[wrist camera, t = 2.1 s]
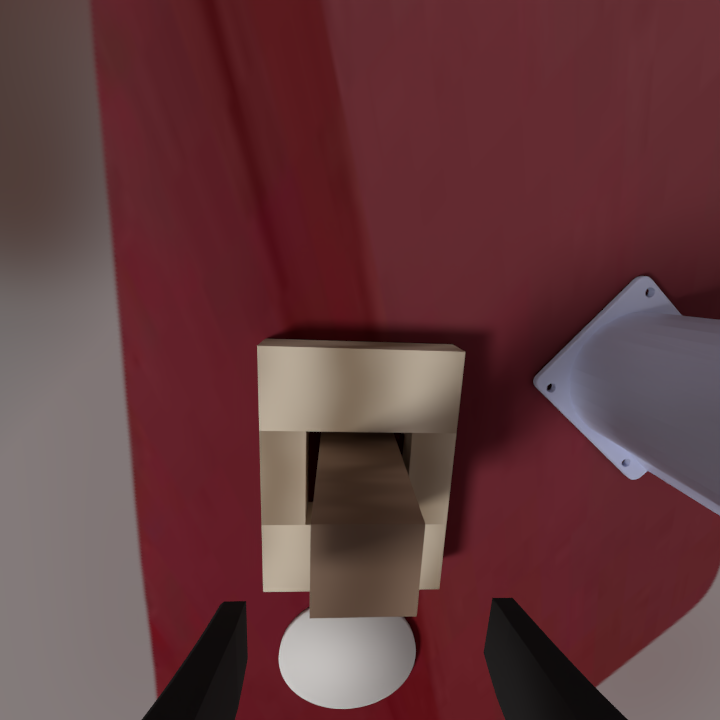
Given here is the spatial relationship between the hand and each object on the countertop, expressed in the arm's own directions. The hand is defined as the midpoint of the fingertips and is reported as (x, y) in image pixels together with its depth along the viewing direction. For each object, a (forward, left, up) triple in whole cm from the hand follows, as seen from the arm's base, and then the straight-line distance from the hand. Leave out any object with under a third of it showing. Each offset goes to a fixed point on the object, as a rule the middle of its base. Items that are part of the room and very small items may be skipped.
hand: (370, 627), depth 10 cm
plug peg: (0, 0, -10) cm, 11 cm away
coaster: (-9, +11, -10) cm, 18 cm away
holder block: (0, 0, -10) cm, 10 cm away
